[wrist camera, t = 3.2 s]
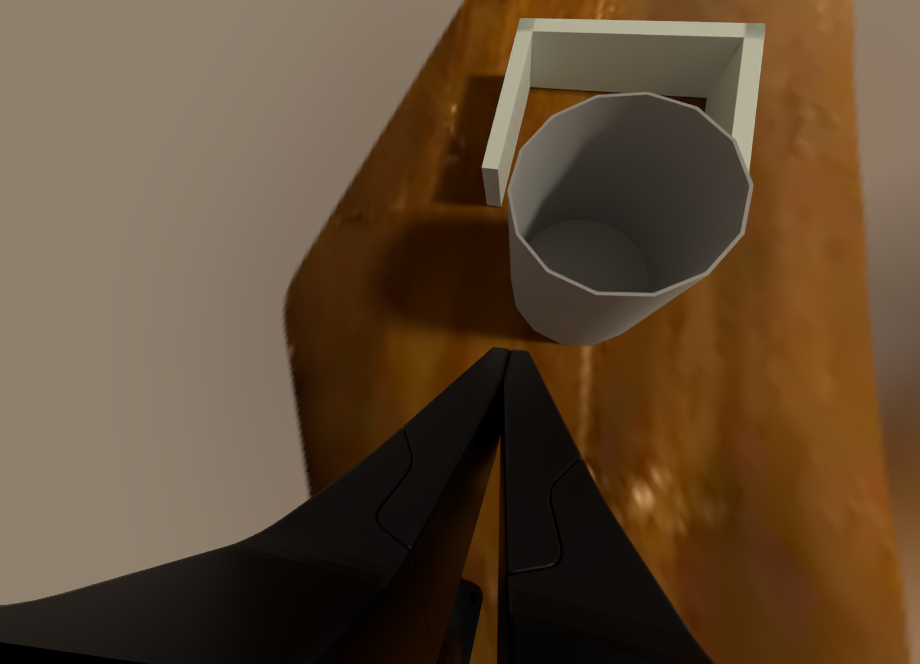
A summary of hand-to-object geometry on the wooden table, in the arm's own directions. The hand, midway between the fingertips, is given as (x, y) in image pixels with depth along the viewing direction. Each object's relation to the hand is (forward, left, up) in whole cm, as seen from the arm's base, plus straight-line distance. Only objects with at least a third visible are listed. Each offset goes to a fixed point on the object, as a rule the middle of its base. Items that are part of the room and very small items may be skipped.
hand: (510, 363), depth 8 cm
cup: (+8, -2, -14) cm, 16 cm away
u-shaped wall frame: (+17, -2, -14) cm, 22 cm away
